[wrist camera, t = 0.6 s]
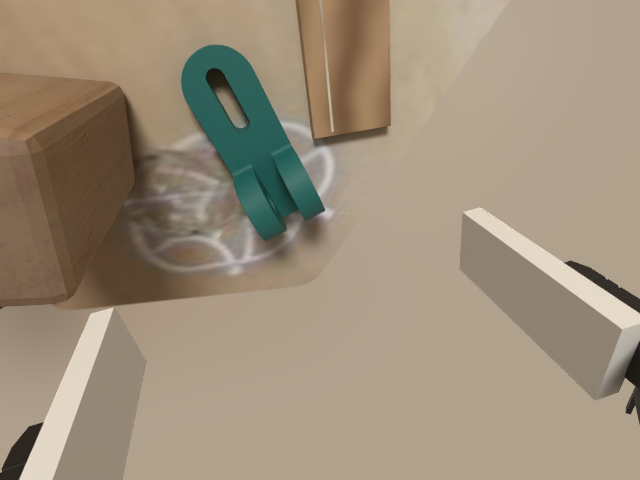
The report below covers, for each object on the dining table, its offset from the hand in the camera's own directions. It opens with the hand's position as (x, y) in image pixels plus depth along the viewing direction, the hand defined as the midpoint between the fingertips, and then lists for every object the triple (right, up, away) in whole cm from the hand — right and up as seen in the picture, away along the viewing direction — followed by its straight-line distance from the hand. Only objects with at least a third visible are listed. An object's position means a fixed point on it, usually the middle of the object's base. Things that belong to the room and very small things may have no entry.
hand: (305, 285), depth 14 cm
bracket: (-7, +13, +25) cm, 29 cm away
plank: (+3, +22, +21) cm, 31 cm away
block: (-23, +12, +21) cm, 33 cm away
